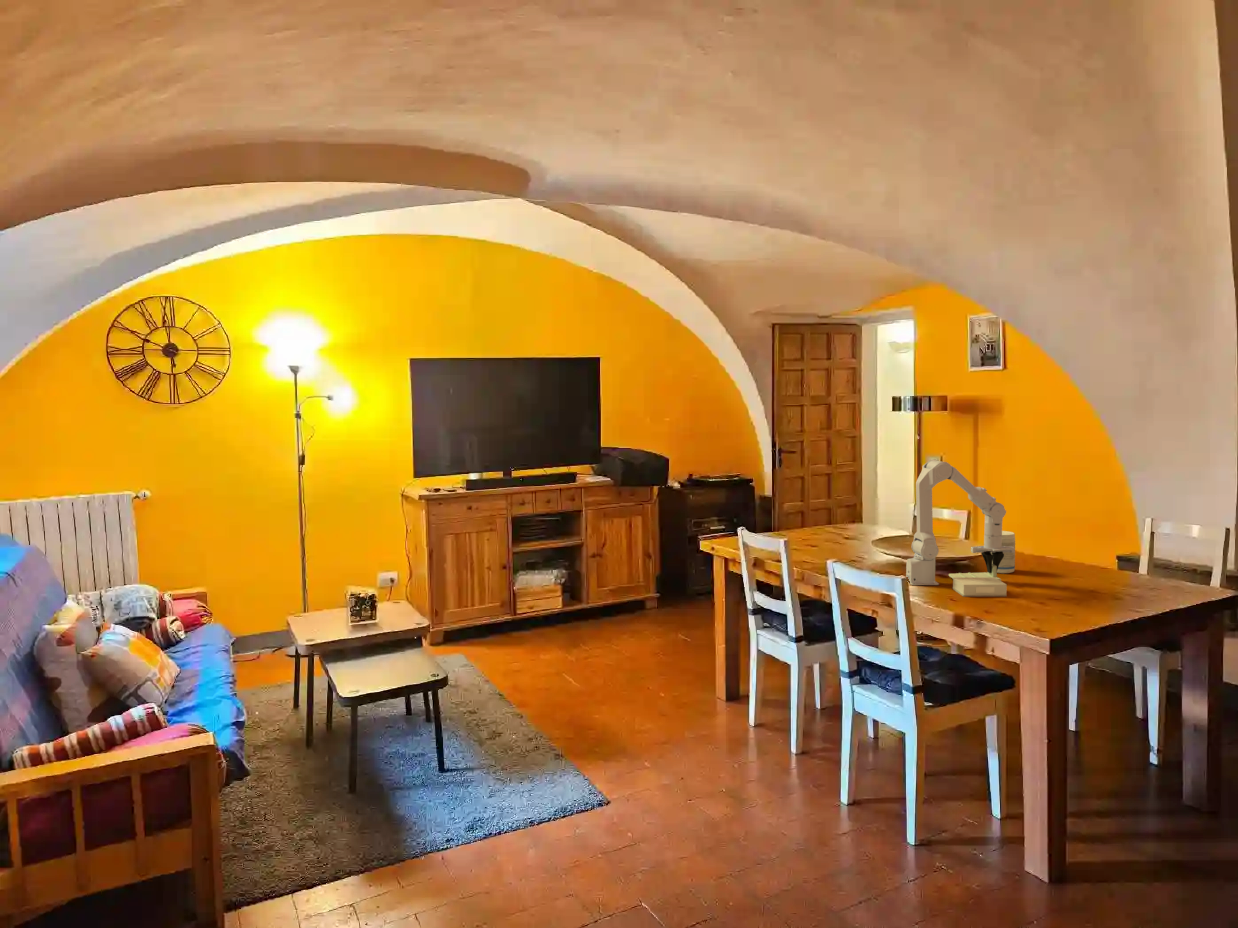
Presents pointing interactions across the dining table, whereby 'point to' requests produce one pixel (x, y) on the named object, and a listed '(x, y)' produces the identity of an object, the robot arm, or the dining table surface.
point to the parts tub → (979, 586)
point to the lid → (977, 574)
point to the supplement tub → (1007, 553)
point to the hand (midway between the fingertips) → (992, 572)
